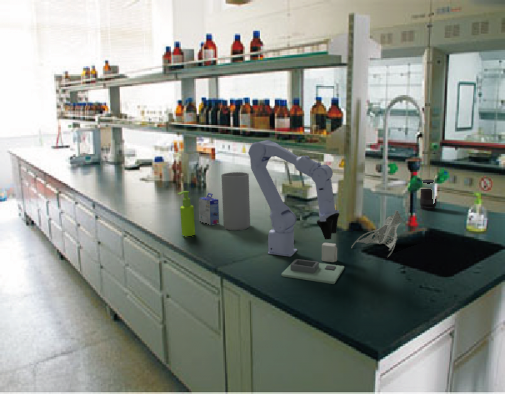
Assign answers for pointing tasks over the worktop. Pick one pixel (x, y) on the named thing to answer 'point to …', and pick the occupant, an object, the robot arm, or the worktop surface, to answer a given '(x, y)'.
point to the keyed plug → (329, 252)
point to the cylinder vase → (235, 200)
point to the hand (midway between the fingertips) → (330, 236)
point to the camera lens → (427, 197)
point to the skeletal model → (384, 232)
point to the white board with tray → (313, 271)
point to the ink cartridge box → (208, 210)
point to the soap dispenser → (187, 215)
